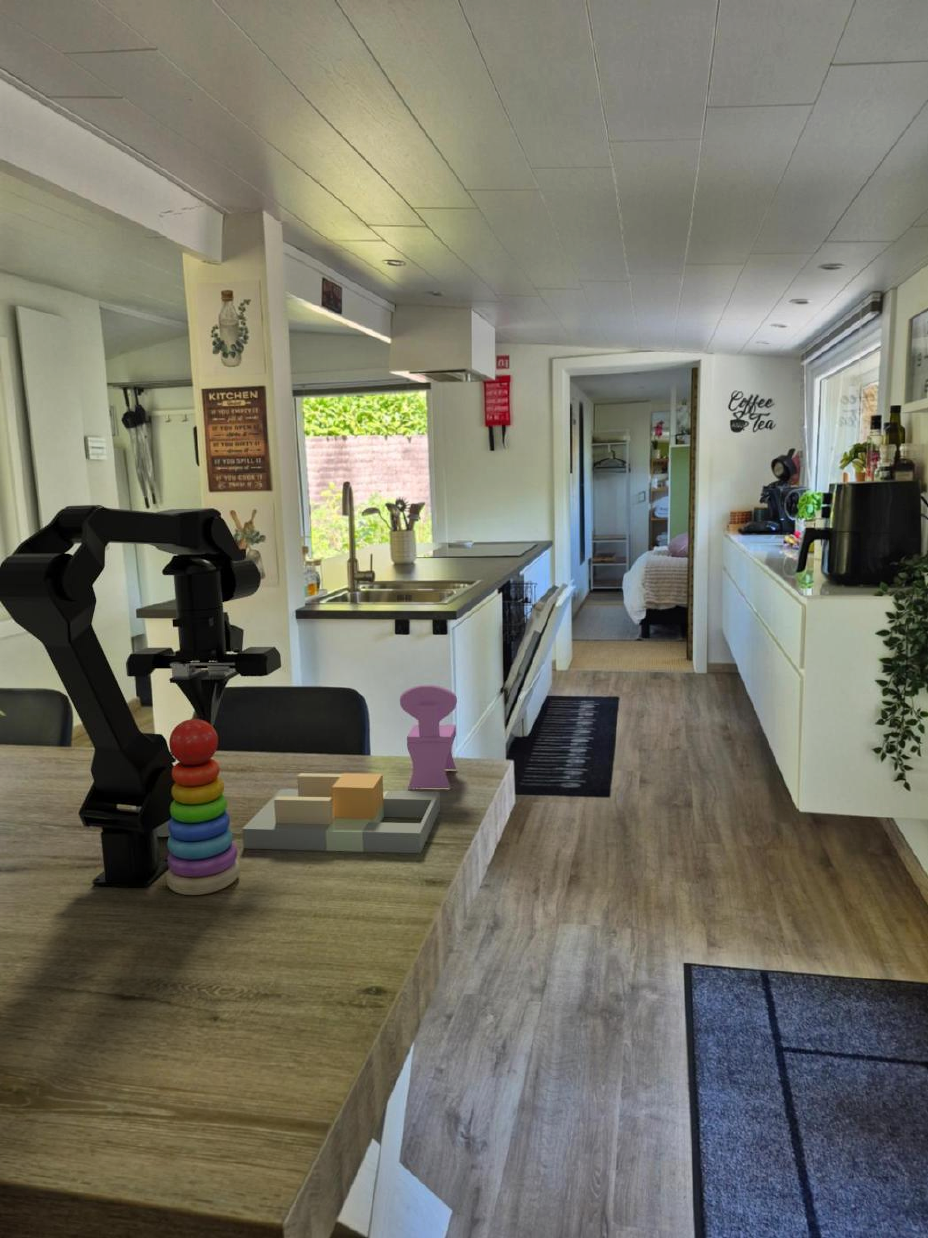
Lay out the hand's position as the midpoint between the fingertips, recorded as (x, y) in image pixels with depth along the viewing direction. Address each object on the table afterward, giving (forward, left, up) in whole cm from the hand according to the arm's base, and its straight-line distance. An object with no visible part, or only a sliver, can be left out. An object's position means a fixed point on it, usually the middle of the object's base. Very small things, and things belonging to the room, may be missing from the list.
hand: (209, 726), depth 112 cm
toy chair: (+18, -26, -13) cm, 34 cm away
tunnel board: (-1, -18, -13) cm, 22 cm away
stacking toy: (-17, -6, -13) cm, 22 cm away
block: (-1, -20, -10) cm, 22 cm away
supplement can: (+8, +9, -9) cm, 15 cm away
